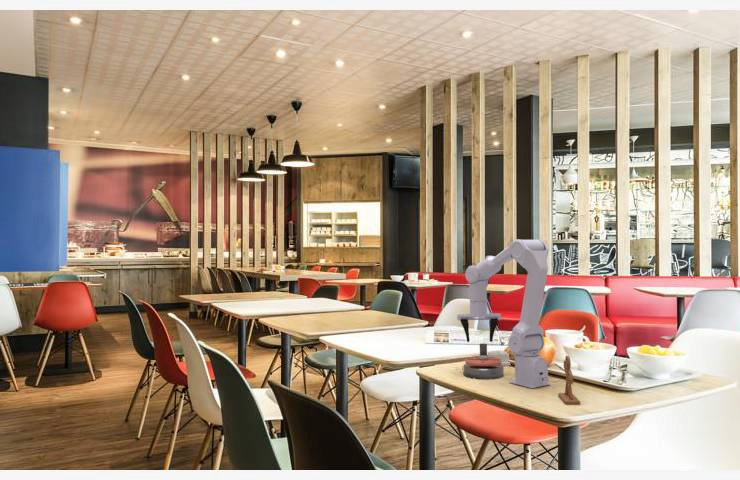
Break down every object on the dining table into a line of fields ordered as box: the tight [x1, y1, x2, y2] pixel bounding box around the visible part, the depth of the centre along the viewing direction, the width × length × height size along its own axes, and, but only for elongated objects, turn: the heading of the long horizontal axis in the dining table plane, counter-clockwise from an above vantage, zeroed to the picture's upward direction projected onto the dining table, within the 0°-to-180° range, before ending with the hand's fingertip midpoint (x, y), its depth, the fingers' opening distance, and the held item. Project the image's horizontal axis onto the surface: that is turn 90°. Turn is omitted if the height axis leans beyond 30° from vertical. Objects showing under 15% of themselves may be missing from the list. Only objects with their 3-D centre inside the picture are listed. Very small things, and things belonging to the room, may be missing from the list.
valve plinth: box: [462, 363, 505, 380], centre depth 184 cm, size 13×13×3 cm
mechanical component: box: [487, 350, 512, 367], centre depth 203 cm, size 10×4×10 cm
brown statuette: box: [557, 355, 581, 406], centre depth 150 cm, size 9×4×12 cm, turn 173°
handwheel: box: [464, 343, 501, 366], centre depth 184 cm, size 12×12×6 cm
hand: (479, 341), depth 189 cm, fingers open, 7 cm apart
